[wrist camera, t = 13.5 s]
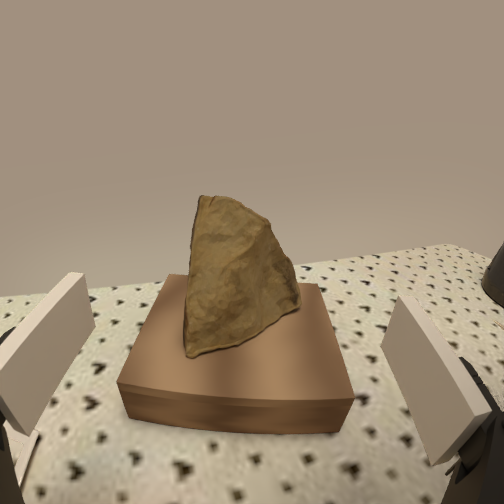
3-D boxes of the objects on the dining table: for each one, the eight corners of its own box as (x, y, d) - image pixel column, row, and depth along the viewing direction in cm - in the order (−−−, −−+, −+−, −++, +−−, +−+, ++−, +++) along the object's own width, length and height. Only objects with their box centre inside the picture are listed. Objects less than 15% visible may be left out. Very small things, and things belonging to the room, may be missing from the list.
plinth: (311, 316, 32) (317, 283, 31) (338, 431, 19) (355, 397, 17) (171, 306, 32) (169, 273, 31) (128, 417, 18) (116, 381, 17)
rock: (295, 260, 30) (191, 245, 28) (333, 208, 23) (199, 183, 21) (296, 373, 25) (176, 363, 23) (347, 354, 17) (175, 341, 16)
